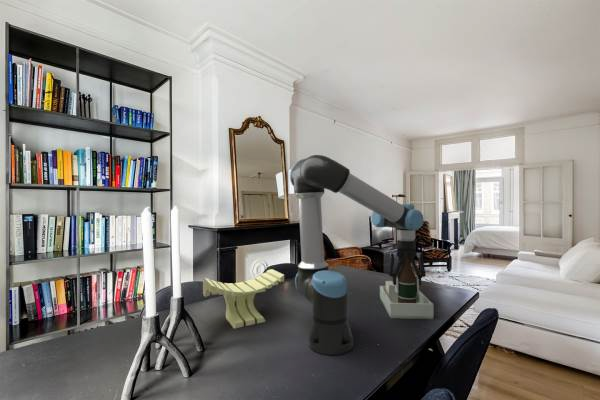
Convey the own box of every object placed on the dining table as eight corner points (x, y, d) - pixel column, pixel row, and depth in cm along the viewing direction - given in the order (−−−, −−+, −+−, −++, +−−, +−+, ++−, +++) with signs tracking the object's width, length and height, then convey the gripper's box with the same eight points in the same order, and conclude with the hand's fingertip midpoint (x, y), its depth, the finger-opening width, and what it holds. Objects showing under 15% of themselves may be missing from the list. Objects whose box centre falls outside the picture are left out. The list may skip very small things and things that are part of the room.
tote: (390, 318, 120) (390, 303, 120) (380, 297, 146) (379, 285, 146) (433, 319, 118) (433, 304, 118) (415, 298, 144) (415, 286, 144)
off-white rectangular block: (389, 302, 136) (388, 285, 136) (385, 297, 144) (385, 280, 144) (415, 303, 135) (415, 285, 135) (411, 297, 143) (410, 281, 143)
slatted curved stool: (269, 306, 137) (269, 267, 137) (284, 317, 123) (284, 274, 123) (203, 319, 122) (202, 276, 122) (211, 333, 108) (211, 285, 109)
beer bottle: (413, 304, 130) (412, 249, 130) (419, 310, 122) (418, 252, 122) (395, 303, 131) (394, 249, 131) (400, 310, 123) (399, 252, 123)
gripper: (427, 238, 129) (429, 290, 129) (380, 238, 131) (381, 289, 131) (433, 240, 122) (435, 295, 122) (383, 240, 124) (384, 294, 124)
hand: (407, 292), depth 126 cm, fingers closed on beer bottle, 8 cm apart
